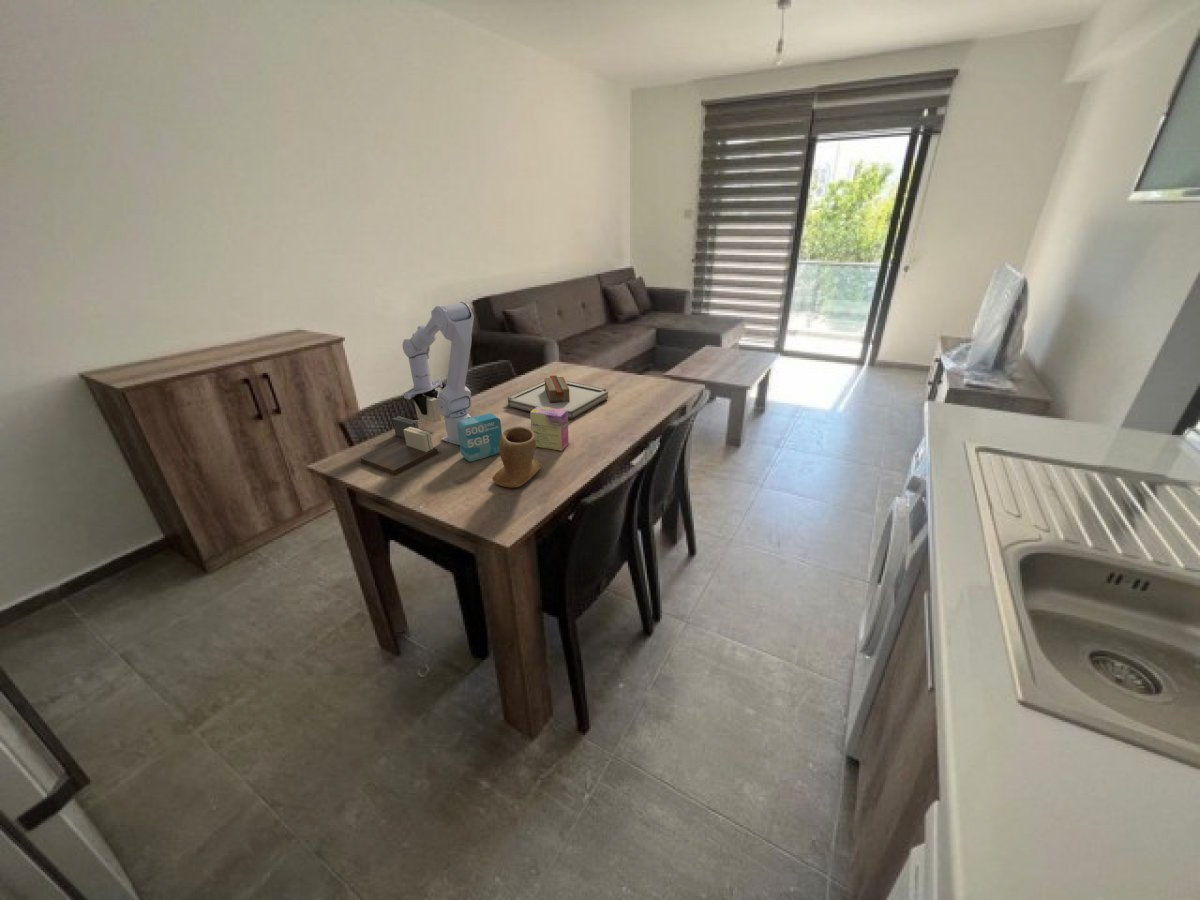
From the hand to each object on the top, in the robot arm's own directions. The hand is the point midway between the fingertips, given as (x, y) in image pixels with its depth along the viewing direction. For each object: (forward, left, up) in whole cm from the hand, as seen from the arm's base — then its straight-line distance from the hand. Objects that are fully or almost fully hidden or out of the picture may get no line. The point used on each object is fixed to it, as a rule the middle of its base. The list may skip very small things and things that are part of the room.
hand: (427, 412), depth 164 cm
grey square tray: (-25, -42, -5) cm, 49 cm away
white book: (0, 0, -2) cm, 2 cm away
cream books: (-12, +15, -4) cm, 20 cm away
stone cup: (-50, +12, -5) cm, 52 cm away
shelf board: (-10, +21, -5) cm, 24 cm away
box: (-45, -9, -5) cm, 46 cm away
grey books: (0, +9, -5) cm, 11 cm away
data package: (-31, +7, -5) cm, 32 cm away
